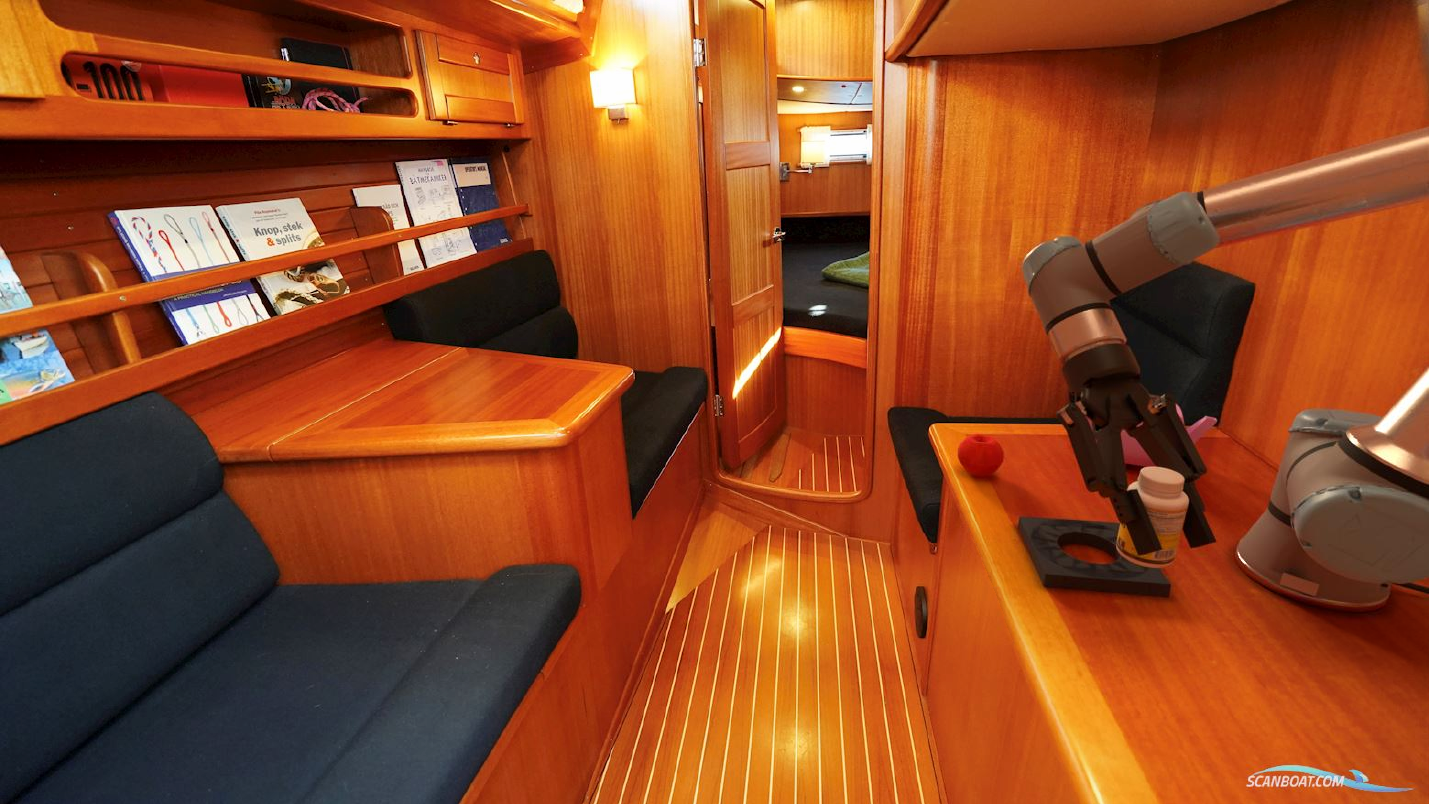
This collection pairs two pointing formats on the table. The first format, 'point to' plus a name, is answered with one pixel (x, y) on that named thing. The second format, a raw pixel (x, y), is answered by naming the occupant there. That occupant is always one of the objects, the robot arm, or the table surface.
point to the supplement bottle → (1158, 515)
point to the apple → (980, 455)
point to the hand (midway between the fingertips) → (1176, 548)
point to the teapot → (1138, 455)
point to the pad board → (1080, 574)
